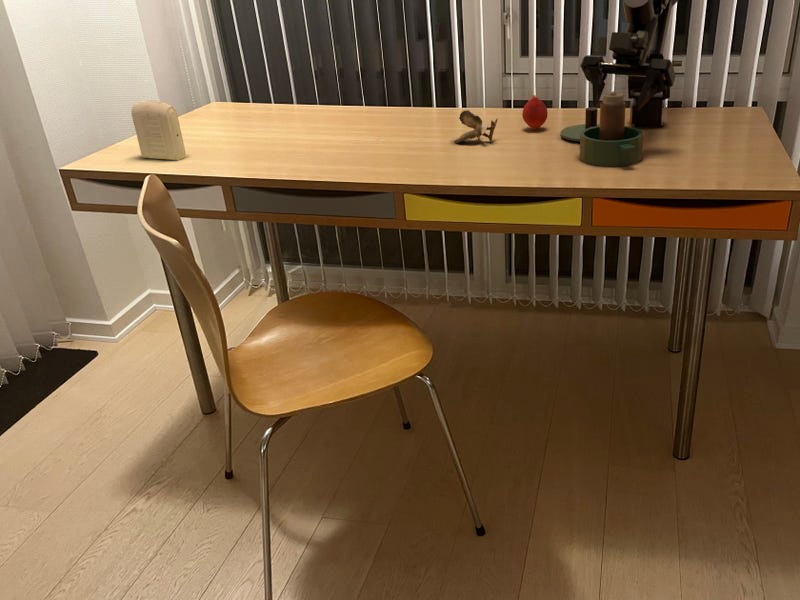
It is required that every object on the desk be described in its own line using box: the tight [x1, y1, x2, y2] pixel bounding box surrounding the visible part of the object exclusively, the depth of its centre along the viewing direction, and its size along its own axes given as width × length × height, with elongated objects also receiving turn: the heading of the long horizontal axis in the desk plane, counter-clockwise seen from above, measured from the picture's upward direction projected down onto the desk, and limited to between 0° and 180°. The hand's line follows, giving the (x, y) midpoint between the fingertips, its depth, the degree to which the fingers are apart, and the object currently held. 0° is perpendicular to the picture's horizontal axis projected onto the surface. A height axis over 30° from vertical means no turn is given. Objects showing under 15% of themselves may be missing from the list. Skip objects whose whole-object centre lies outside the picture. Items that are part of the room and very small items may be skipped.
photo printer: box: [130, 100, 187, 161], centre depth 177 cm, size 10×4×12 cm, turn 73°
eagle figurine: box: [453, 109, 499, 144], centre depth 179 cm, size 8×7×9 cm
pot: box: [579, 125, 644, 167], centre depth 164 cm, size 13×18×5 cm
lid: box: [560, 106, 600, 143], centre depth 179 cm, size 14×14×6 cm
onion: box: [521, 94, 549, 131], centre depth 185 cm, size 6×6×8 cm
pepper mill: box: [599, 90, 626, 141], centre depth 162 cm, size 5×5×13 cm
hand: (615, 107), depth 162 cm, fingers open, 9 cm apart
